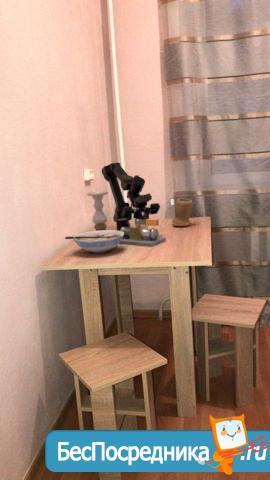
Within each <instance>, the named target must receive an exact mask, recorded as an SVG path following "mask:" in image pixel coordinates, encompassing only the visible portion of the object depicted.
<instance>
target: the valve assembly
mask: <svg viewBox="0 0 270 480" xmlns="http://www.w3.org/2000/svg"><path fill="white" fill-rule="evenodd" d="M120 231H122V232H124V235H123V238H122V240H121V241H120V243H119V244H118V245H129V246H138V247H139V246H141V247H156V246H157V245H160V244H162V243H164V242H166V241H167V238H166V237H159V236H160V232H159V229H158V228H155V227H154V228H151V229H150V228H149V226H146V225H133V226H130V228H127V227H121V228H120Z"/></svg>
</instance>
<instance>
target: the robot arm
mask: <svg viewBox="0 0 270 480" xmlns="http://www.w3.org/2000/svg"><path fill="white" fill-rule="evenodd" d="M101 175H102V176H103V179H104V180H106V181H107V182H108V183H109V187H110V190H111V193H112V196H113V200H114V203H115V207H114V215H113V217H112V219H113V222H114V223H115V224H116V231H120V228H121V227H127V228H130V227H131V223H130V221H132V219H134V220H135V219H150V215H156V214H158V213H159V210H160V209H161V205H160V203H158V202H155V203H150V205H149V206H148V202H150V201H151V200H152V199H153V197H152V194H151V193H146V194H141V193H142V191H143V189H144V187H145V184H146V180H145V179H144V178H143V177H140V176H139V175H134V176H131V175H129V174H128V173H127V172H126V171H125V170H124V168H123V166H121V163H120V162H111V163H109V164H108V165H103V167H102V168H101ZM118 180H119V181H120V184H119V181H118ZM121 189H122V190H121ZM122 191H124V192H125V191H127V193H126V194H127V195H126V199H129V201H130V203H129V202H126V201H125V199H124V196H123V193H122ZM132 217H133V218H132Z"/></svg>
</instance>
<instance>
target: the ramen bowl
mask: <svg viewBox="0 0 270 480" xmlns="http://www.w3.org/2000/svg"><path fill="white" fill-rule="evenodd" d="M123 235H124V232H122V231H117V229H115V230H114V229H109V230H108V229H106V230H101V231H96V230H91V231H86V232H82V233H78V234H75V235H73V236H65V237H64V239H65V240H73V241H74V243H75V244H76V245H77V246H78V247H80V249H82V250H84V251H86V252H91V253H92V254H102V253H106V252H108V251H110V250H112V249H114V248H115V247H117V246H118V245H120V244H119V243H120V241H121V240H122V238H123Z"/></svg>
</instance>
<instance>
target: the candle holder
mask: <svg viewBox="0 0 270 480" xmlns="http://www.w3.org/2000/svg"><path fill="white" fill-rule="evenodd" d="M86 194H87V196H88V197H92V199H93V200H94V203H93V208H94V210H95V212H94V214H93V216H92V219H91V220H92V222H93V224H95V225H94V227H93V228H94V230H95V231H101V230H107V227H108V226H107V224H106V223H107V221H108V217H107V215H106V214H105V212H104V211H103V208H104V203H103V198H104V196H105V195H108V194H109V191H103V190H102V191H92V192H91V191H90V192H87V193H86Z"/></svg>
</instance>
